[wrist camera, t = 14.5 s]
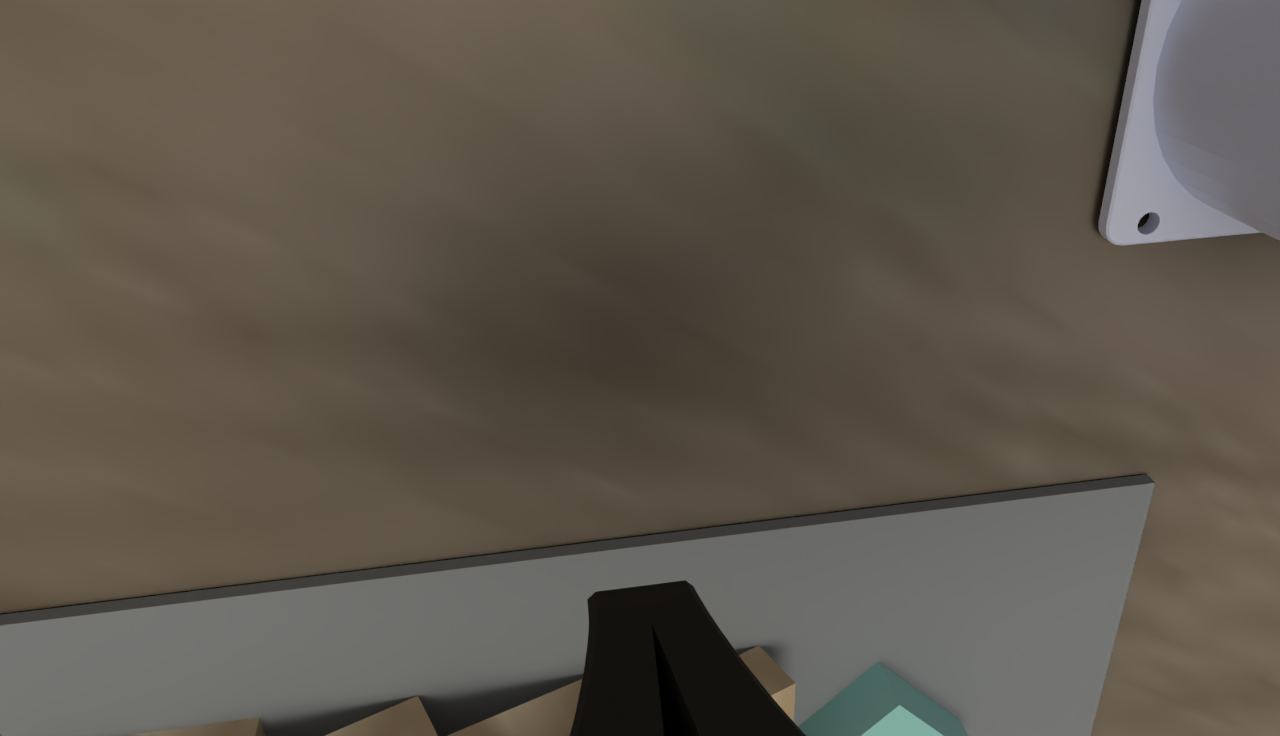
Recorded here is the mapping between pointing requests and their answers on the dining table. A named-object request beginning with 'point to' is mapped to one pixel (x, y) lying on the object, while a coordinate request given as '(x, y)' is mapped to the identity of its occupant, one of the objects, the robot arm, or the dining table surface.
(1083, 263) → the dining table surface
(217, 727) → the tile
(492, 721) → the tan wooden block
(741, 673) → the robot arm
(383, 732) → the tile
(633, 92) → the dining table surface
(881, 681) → the tile
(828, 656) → the board and tray
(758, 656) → the tile
